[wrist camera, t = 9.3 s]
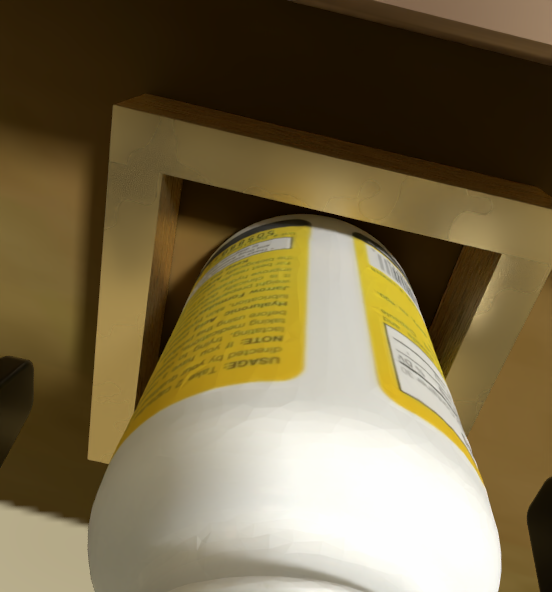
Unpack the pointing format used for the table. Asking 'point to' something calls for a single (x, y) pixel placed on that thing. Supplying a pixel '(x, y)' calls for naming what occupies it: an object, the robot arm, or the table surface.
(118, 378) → the frame
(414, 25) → the brown wooden bar
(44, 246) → the table surface
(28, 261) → the table surface
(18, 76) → the table surface
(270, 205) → the table surface
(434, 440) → the supplement bottle
